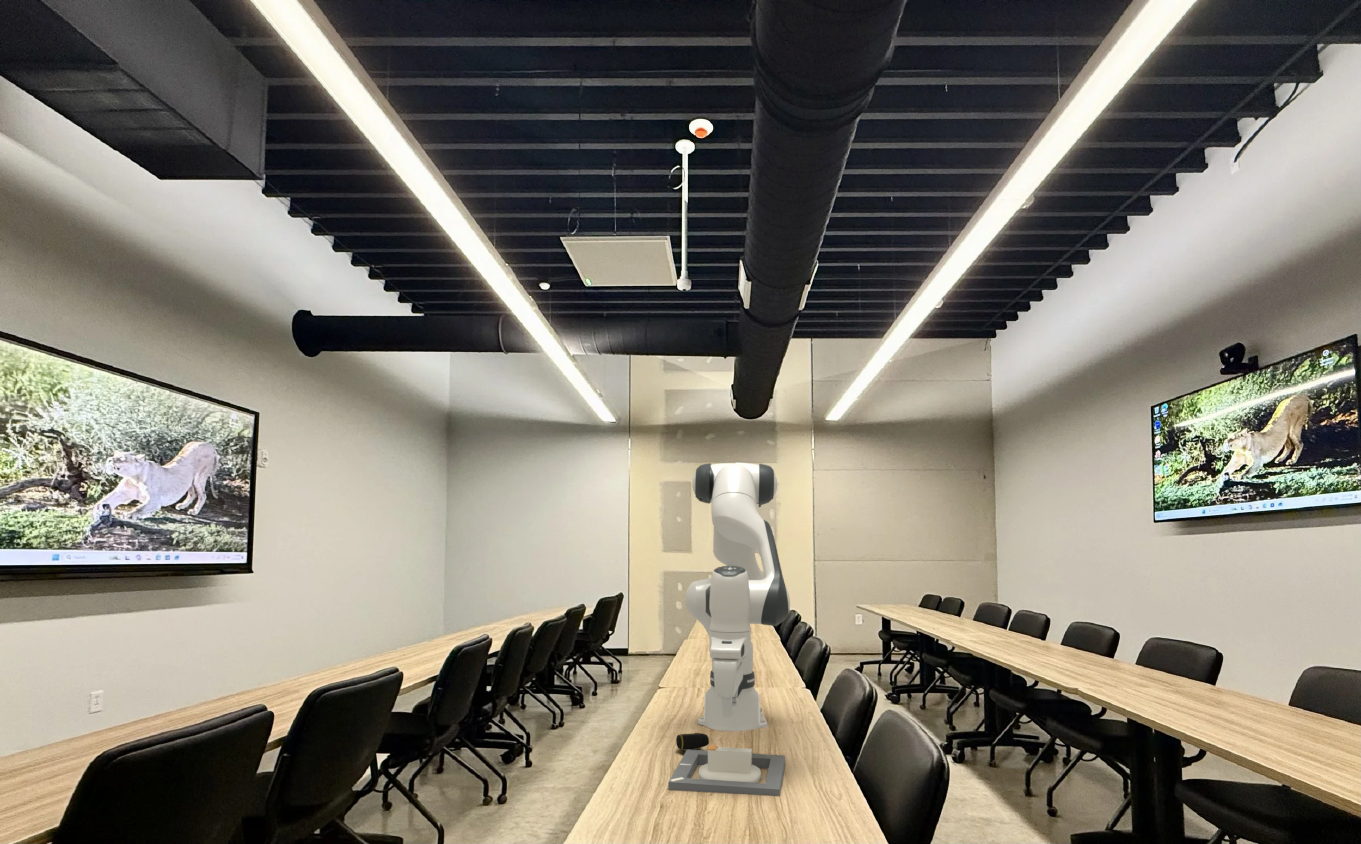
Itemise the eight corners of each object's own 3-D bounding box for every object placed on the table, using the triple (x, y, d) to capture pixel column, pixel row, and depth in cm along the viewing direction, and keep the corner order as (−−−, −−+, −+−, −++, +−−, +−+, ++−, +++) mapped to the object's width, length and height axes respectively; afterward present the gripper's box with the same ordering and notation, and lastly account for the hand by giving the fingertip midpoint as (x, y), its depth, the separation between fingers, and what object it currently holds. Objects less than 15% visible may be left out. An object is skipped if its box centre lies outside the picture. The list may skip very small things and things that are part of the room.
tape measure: (711, 749, 190) (709, 731, 191) (683, 752, 188) (682, 735, 189) (699, 748, 196) (698, 731, 197) (672, 752, 194) (671, 735, 195)
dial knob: (763, 770, 178) (763, 740, 179) (758, 790, 165) (758, 759, 166) (703, 766, 180) (703, 737, 181) (694, 786, 167) (694, 755, 168)
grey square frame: (687, 761, 185) (687, 748, 186) (785, 767, 181) (785, 754, 182) (668, 795, 164) (668, 781, 164) (779, 802, 160) (779, 788, 160)
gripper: (721, 636, 186) (721, 699, 184) (708, 650, 166) (708, 721, 164) (749, 637, 185) (749, 700, 183) (739, 652, 165) (740, 723, 163)
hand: (730, 711), depth 174 cm, fingers open, 8 cm apart
